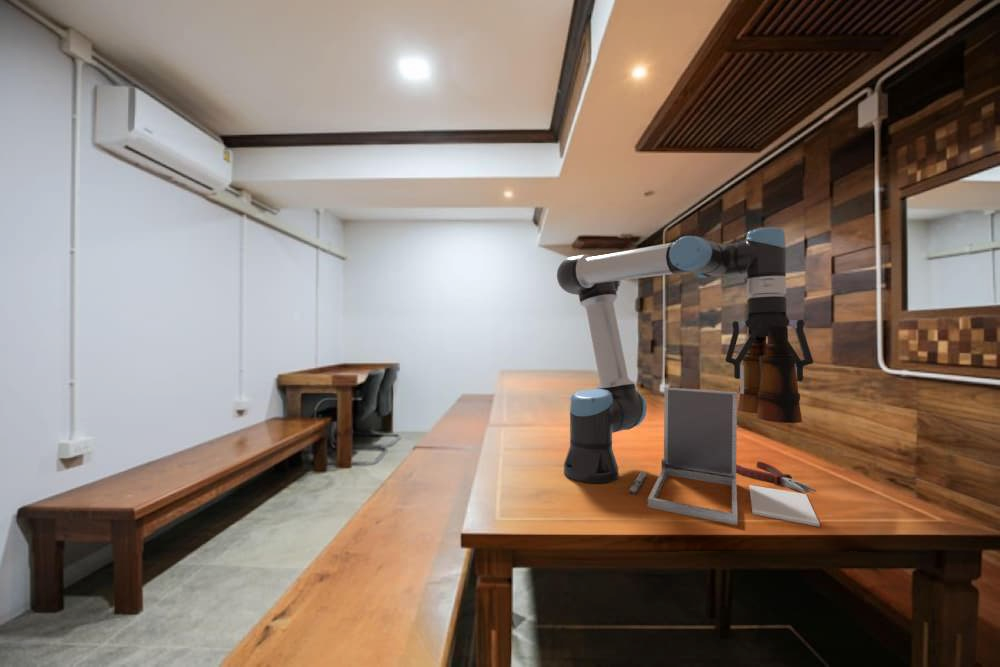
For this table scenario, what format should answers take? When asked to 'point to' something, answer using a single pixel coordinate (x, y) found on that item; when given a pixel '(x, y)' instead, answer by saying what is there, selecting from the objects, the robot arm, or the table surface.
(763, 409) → the binoculars
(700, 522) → the table surface
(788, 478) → the pliers
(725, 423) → the case
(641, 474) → the rod
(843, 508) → the table surface
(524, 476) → the table surface
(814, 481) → the table surface
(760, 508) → the mat
